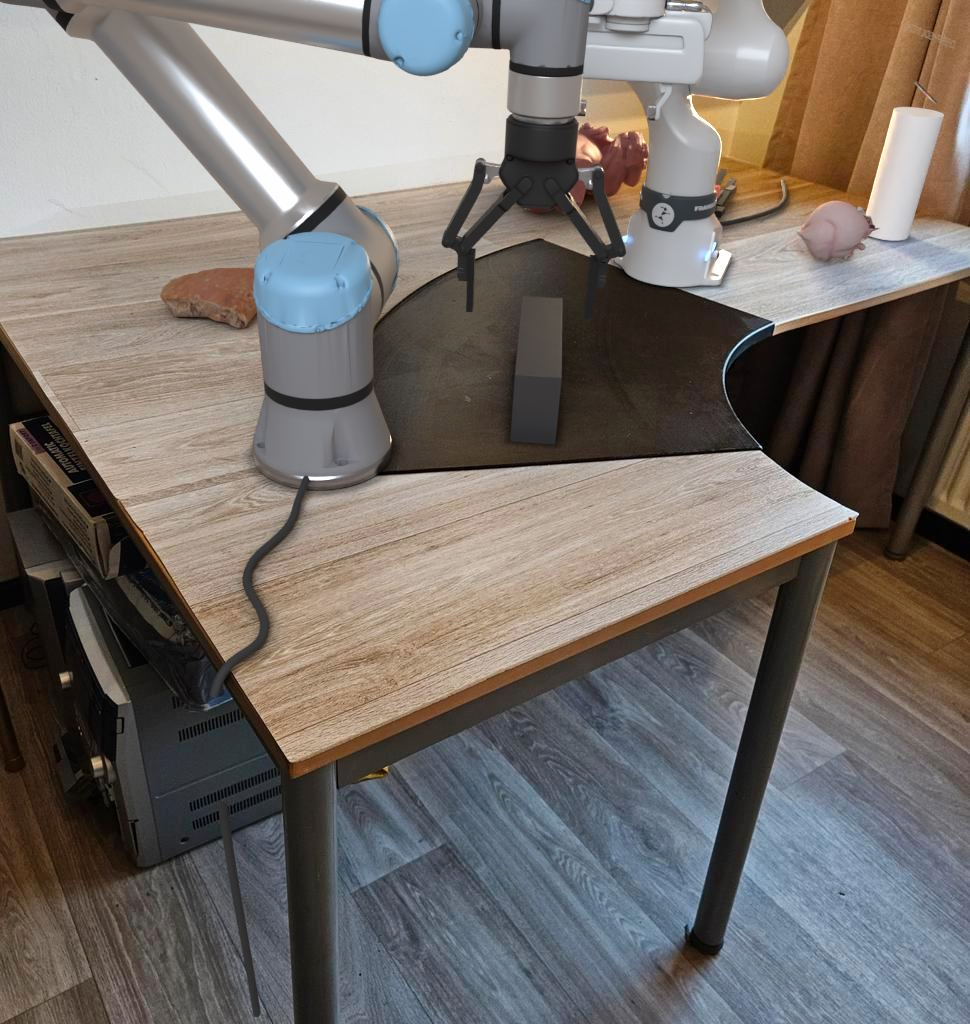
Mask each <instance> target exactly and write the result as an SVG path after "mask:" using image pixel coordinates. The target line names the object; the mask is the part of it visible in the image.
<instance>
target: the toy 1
mask: <svg viewBox="0 0 970 1024" xmlns="http://www.w3.org/2000/svg"><path fill="white" fill-rule="evenodd" d="M727 171H728V170H727V169H726V168H720V169H719V170H718V172H717V178H716V184H715V185H719V186H720V187H721V186H722V184H723V181H724V180H725V178H726V176H727ZM736 182H737V177H732V176H731V177H730V178H729V179H728V180H727V182H726V183H725V185H724V187H723V188H721V189H722V190H721V189H720V190H721V191H720V192H719V193H720V194H719V197H718V198H717V203H716V210H715V212H714V214H715V216H716V217H717V219H722V217H723V216H724V215H725V212H726V204H727V203H728V201H729V199H730V198H731V197H732V196H734V195H735V194H736V193H737V188H738V185H736Z"/></svg>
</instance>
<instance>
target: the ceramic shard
mask: <svg viewBox="0 0 970 1024" xmlns="http://www.w3.org/2000/svg"><path fill="white" fill-rule="evenodd" d="M254 268H255V267H216V268H211V269H203V270H200V271H198V272H193V273H187V274H184V275H181V276H179V277H177V278H176V277H175V278H173V279H171V280H170V281H168V282H167V283H166V284H165V285H164V286H163V287H162V289H161V291H160V294H159V297H160V299H161V301H162V302H163V303H164V304H165V305H166V306H168V308H169V310H170V312H171V313H172V315H173V316H174V317H178V318H180V317H185V318H187V317H189V318H197V317H198V318H209V319H211V320H213V321H215V322H219V323H225V324H228V325H229V326H230V327H234V328H237V329H244V328H246V327H247V325H248V324H249V323H250V321H251V320H252V319H253V317H254V316H255V315H257V310H256V303H255V299H254V296H253V293H254V289H253V283H254Z"/></svg>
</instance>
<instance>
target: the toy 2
mask: <svg viewBox="0 0 970 1024" xmlns="http://www.w3.org/2000/svg"><path fill="white" fill-rule="evenodd" d="M866 211H867V209H866V210H865V209H864V208H862V206H856V207H855V206H854V205H852V204H851V203H848V202H846V201H841V200H830V201H826V202H824V203H822V204H821V205H819V206H817V207H816V208H815V209H814V210H813V211H812V212H811V213H810V214H809V216H808V218H807V219H806V220H805V222H804V223H801V229H800V231H796V234H797V235H798V236H799V237H800V238H801V240H802V241H803V243H804V245H805V246H806V247H807V251H808V253H809V254H810V255H811V256H812V257H813V258H814V259H816V260H821V261H825V262H826V261H828V260H830V258H831V259H842V260H844V258H845V257H846V259H849V258H851V257H853V255H854V252H855V250H859V251H864V250H865V249H867V248H866V245H865V244H864V243H863V242H864V241H866V240H867V239H868V237H869V236H868V235H870V234H871V233H872V231H875V230H878V229H880V228H875V225H873V222H872V219H871V216H867V215H866Z"/></svg>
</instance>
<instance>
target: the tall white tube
mask: <svg viewBox="0 0 970 1024" xmlns="http://www.w3.org/2000/svg"><path fill="white" fill-rule="evenodd" d="M904 30H905V31H907V32H910V33H912V32H913V34H915V33H916V34H917V35H918V36H921V37H923V38H924V37H925V39H928V40H930V41H931V40H932V41H933V42H937V40H938V44H939V43H940V44H942V45H943V46H946V47H947V48H948V47H949V49H950V48H951V49H952V50H953V49H954V48H955V45H956V40H954V39H951V38H948V37H946V36H942V37H941V34H938V35H937V33H934V32H933V31H931V30H926V29H923V34H921V31H922V27H920V26H918V25H915V24H912V23H909V22H908V21H907V22H905V26H904ZM927 33H928V35H927ZM940 37H941V38H940ZM940 39H941V42H940ZM945 39H946V40H945ZM944 42H945V43H944ZM952 43H954V44H953V46H952ZM913 84H914V85H915V86H916V87H917V88H919V90H920V91H921V92H922V95H923V96H924V97H926V98H928V99H929V100H930V101H931V102H932V103H934V104H937V103H938V101H937V100H936V99H935V98H934V97H932V95H931V94H930V93H929V92H928V91H927V90H926V89H925V88H924V87H923V86H922V85H921V84H920V83H919V82H918V81H915V80H914V82H913ZM944 117H945V114H944V113H943V112H940V111H937V110H936V109H935V110H934V109H929V108H924V107H915V106H914V107H913V106H897V107H894V108H893V110H892V114H891V118H890V122H889V126H888V129H887V133H886V137H885V140H884V145H883V148H882V151H881V155H880V159H879V163H878V166H877V170H876V174H875V177H874V182H873V185H872V189H871V193H870V196H869V201H868V203H867V208H866V211H865V212H866V214H865V215H867V216H871V219H872V222H873V225H875V228H880V229H878V230H875V231H872V233H871V234H870V235H868V237H871V238H873V239H878V240H884V241H893V242H895V241H897V242H898V241H899V242H900V241H905V240H907V239H909V236H910V233H911V229H912V226H913V222H914V219H915V215H916V211H917V210H918V209H917V208H918V206H919V202H920V198H921V195H922V191H923V188H924V184H925V182H926V178H927V175H928V171H929V169H930V165H931V161H932V158H933V155H934V151H935V148H936V145H937V142H938V141H937V140H938V138H939V134H940V130H941V127H942V124H943V121H944Z"/></svg>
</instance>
